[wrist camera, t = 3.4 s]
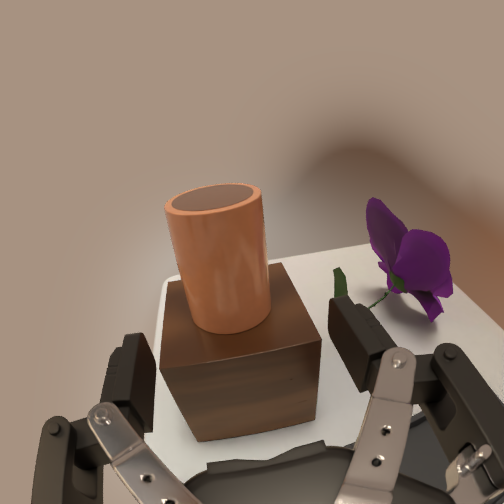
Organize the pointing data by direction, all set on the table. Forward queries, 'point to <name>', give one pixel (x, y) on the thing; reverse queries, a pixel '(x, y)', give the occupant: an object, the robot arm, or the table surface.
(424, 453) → the tray
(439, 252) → the flower
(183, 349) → the block
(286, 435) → the table surface
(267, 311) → the cup
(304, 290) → the table surface
